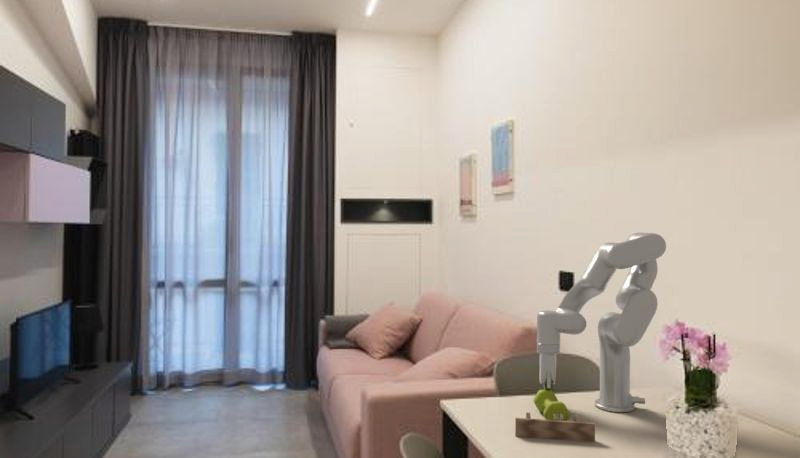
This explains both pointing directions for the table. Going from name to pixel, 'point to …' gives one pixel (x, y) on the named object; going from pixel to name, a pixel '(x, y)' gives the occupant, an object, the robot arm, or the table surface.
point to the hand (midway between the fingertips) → (547, 402)
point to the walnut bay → (555, 429)
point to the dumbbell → (551, 406)
